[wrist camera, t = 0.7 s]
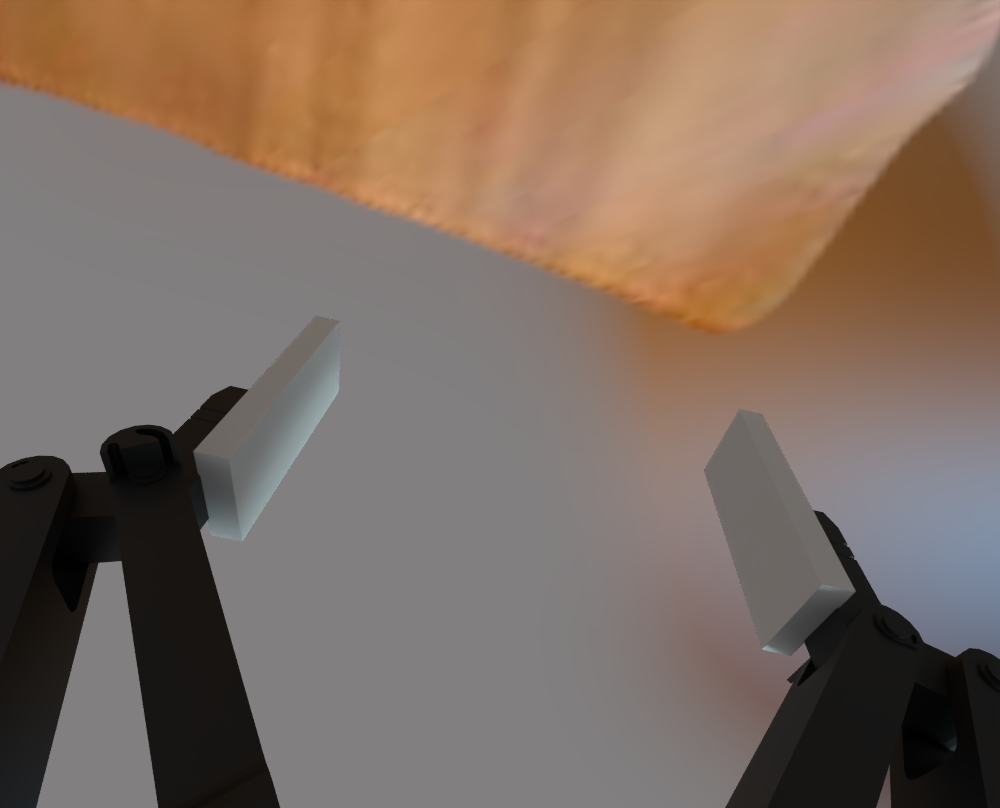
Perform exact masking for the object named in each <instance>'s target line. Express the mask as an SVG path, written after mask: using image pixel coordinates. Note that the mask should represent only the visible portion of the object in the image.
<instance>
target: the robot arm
mask: <svg viewBox="0 0 1000 808" xmlns="http://www.w3.org/2000/svg"><path fill="white" fill-rule="evenodd" d="M339 325H340V321H337V320H333V319H328V318H323V317H318V316H315V317H314V318H313V319H312V321H311V322H310V323H309V324H308V325H307V326H306V327H305V328H304V329H303V331H302V332H301V333H300V334H299V335H298V336H297V337H296V338H295V339H294V340H293V342H292V343H291V344H290V345H289V346H288V347H287V348H286V349H285V350H284V352H283V353H282V354H281V355H280V356H279V357H278V358H277V359H276V360H275V361H274V363H273V364H272V365H271V366H270V367H269V368H268V369H267V370H266V371H265V372H264V374H263V375H262V376H261V377H260V378H259V379H258V380H257V381H256V382H255V384H254V385H253V386H252V387H251V388H250V389H249V390H247V389H242V388H237V387H233V386H229V387H227V388H225V389H223V390H221V391H219V392H217V393H215V394H213V395H212V396H211V397H210V398H209V399H208V400H207V401H206V402H205V403H204V404H203V405H202V406H201V408H200V410H199V409H198V410H197V411H196V412H195V413H194V414H193V415H192V416H191V419H188V420H187V421H186V422H185V423H184V424H183V425H182V426H181V427H180V428H179V429H178V430H177V431H176V432H175V433H174V434H172V432H171V431H170V430H168V429H165V428H163V427H161V426H155V425H141V426H133V427H130V428H127V429H123V430H120V431H118V432H117V433H115V434H113V435H111V436H110V437H108V438H107V440H106V441H105V442H104V443H103V444H102V446H101V450H100V455H101V458H102V461H103V464H104V467H105V469H106V472H92V473H72V472H71V470H70V467H69V465H68V464H67V463H66V462H65V461H64V460H63V459H60V458H57V457H54V456H34V457H29V458H24V459H20V460H18V461H15V462H12V463H10V464H7V465H6V466H4V467H3V468H1V469H0V808H36V806H37V802H38V798H39V794H40V790H41V786H42V782H43V778H44V774H45V770H46V766H47V763H48V759H49V754H50V751H51V747H52V743H53V739H54V735H55V731H56V727H57V723H58V719H59V715H60V711H61V707H62V704H63V700H64V696H65V692H66V688H67V684H68V680H69V676H70V672H71V668H72V664H73V660H74V656H75V653H76V648H77V645H78V641H79V637H80V633H81V629H82V625H83V621H84V617H85V613H86V609H87V605H88V602H89V597H90V594H91V590H92V586H93V582H94V578H95V574H96V570H97V566H98V563H100V562H113V561H122V567H123V574H124V580H125V587H126V593H127V600H128V607H129V614H130V621H131V627H132V634H133V641H134V647H135V654H136V661H137V667H138V674H139V681H140V688H141V694H142V701H143V708H144V714H145V721H146V728H147V735H148V741H149V748H150V755H151V761H152V768H153V774H154V781H155V788H156V795H157V801H158V808H280V806H279V802H278V799H277V795H276V792H275V788H274V785H273V781H272V778H271V775H270V772H269V769H268V767H267V764H266V761H265V758H264V754H263V751H262V748H261V744H260V740H259V737H258V734H257V730H256V727H255V723H254V719H253V716H252V712H251V709H250V705H249V702H248V698H247V695H246V691H245V688H244V684H243V681H242V677H241V673H240V670H239V666H238V663H237V659H236V656H235V652H234V649H233V645H232V642H231V638H230V635H229V631H228V628H227V624H226V621H225V617H224V613H223V610H222V607H221V603H220V599H219V596H218V592H217V589H216V585H215V582H214V578H213V575H212V571H211V567H210V564H209V561H208V557H207V553H206V550H205V547H204V543H203V539H202V536H201V532H200V529H201V528H202V526H203V525H204V524H205V523H206V521H207V520H208V523H209V529H210V534H211V535H212V536H217V537H222V538H227V539H231V540H236V541H241V542H242V541H243V539H244V538H245V536H246V535H247V533H248V532H249V530H250V529H251V527H252V526H253V524H254V522H255V521H256V519H257V518H258V516H259V514H260V513H261V512H262V510H263V508H264V507H265V505H266V504H267V502H268V501H269V499H270V498H271V496H272V494H273V493H274V491H275V490H276V488H277V487H278V485H279V483H280V482H281V480H282V479H283V477H284V476H285V474H286V473H287V471H288V469H289V468H290V467H291V465H292V463H293V462H294V460H295V459H296V457H297V456H298V454H299V453H300V451H301V449H302V448H303V446H304V445H305V443H306V442H307V440H308V439H309V437H310V435H311V434H312V432H313V431H314V429H315V428H316V426H317V425H318V423H319V421H320V420H321V418H322V416H323V415H324V414H325V412H326V410H327V409H328V407H329V406H330V404H331V403H332V401H333V400H334V398H335V397H336V395H337V393H338V392H339V329H340V328H339ZM704 472H705V475H706V478H707V481H708V484H709V487H710V490H711V494H712V497H713V500H714V503H715V506H716V509H717V512H718V515H719V519H720V522H721V525H722V528H723V531H724V534H725V537H726V540H727V543H728V546H729V549H730V552H731V556H732V559H733V561H734V565H735V568H736V571H737V574H738V577H739V580H740V584H741V587H742V590H743V593H744V596H745V599H746V602H747V605H748V608H749V611H750V614H751V617H752V620H753V623H754V627H755V630H756V633H757V636H758V639H759V642H760V645H761V649H762V650H767V651H771V652H777V653H782V654H786V655H792V654H793V653H794V652H795V651H796V650H797V649H798V648H799V647H800V646H801V645H802V644H803V643H804V642H805V645H806V647H807V650H808V652H809V654H810V658H809V659H808V660H807V661H806V662H805V663H804V664H803V665H802V666H801V667H800V668H799V669H798V670H797V671H796V672H795V673H794V674H793V675H792V676H790V677H789V678H788V679H787V680H788V681H789V682H790V683H792V682H793V684H792V686H791V688H790V689H789V691H788V693H787V695H786V697H785V699H784V701H783V702H782V704H781V706H780V708H779V710H778V711H777V713H776V715H775V717H774V719H773V721H772V723H771V724H770V726H769V728H768V730H767V732H766V734H765V735H764V737H763V739H762V741H761V743H760V745H759V747H758V748H757V751H756V752H755V754H754V756H753V758H752V760H751V762H750V763H749V765H748V767H747V769H746V770H745V773H744V774H743V776H742V778H741V780H740V782H739V783H738V785H737V787H736V789H735V791H734V793H733V794H732V796H731V798H730V800H729V802H728V804H727V805H726V807H725V808H876V806H877V803H878V800H879V797H880V793H881V790H882V787H883V784H884V780H885V777H886V774H887V771H888V767H889V764H890V785H891V786H890V787H891V808H1000V659H998V658H997V657H995V656H994V655H992V654H990V653H988V652H985V651H983V650H980V649H973V648H969V649H967V650H966V651H964V652H962V653H961V654H960V655H958V656H957V657H953V656H951V655H949V654H947V653H945V652H943V651H941V650H939V649H937V648H934V647H932V646H930V645H928V644H926V643H924V642H923V640H922V638H921V636H920V634H919V632H918V631H917V630H916V629H915V628H914V627H913V625H912V624H911V623H910V622H909V621H908V620H907V619H905V618H904V617H903V616H902V615H900V614H899V613H898V612H896V611H894V610H892V609H891V608H889V607H887V606H884V605H881V603H880V601H879V600H878V598H877V596H876V594H875V593H874V591H873V589H872V587H871V585H870V584H869V582H868V580H867V578H866V576H865V575H864V573H863V571H862V569H861V568H860V566H859V564H858V562H857V561H856V560H854V555H853V553H852V552H851V550H850V548H849V547H847V543H846V541H845V539H844V537H843V535H842V534H841V532H840V530H839V528H838V527H837V526H836V525H835V524H834V523H833V522H832V521H831V520H830V519H829V518H828V517H827V516H826V515H825V514H824V513H823V512H819V511H814V510H813V509H812V508H811V506H810V504H809V502H808V500H807V498H806V496H805V494H804V492H803V490H802V488H801V487H800V485H799V483H798V481H797V479H796V477H795V475H794V473H793V471H792V470H791V468H790V466H789V464H788V462H787V460H786V458H785V456H784V454H783V453H782V451H781V449H780V447H779V445H778V443H777V441H776V439H775V437H774V435H773V434H772V432H771V430H770V428H769V426H768V424H767V422H766V420H765V418H764V416H763V415H762V414H760V413H755V412H751V411H746V410H742V409H739V410H738V412H737V414H736V416H735V418H734V419H733V421H732V423H731V424H730V426H729V428H728V429H727V431H726V433H725V435H724V436H723V438H722V440H721V442H720V443H719V445H718V447H717V449H716V450H715V452H714V454H713V455H712V457H711V459H710V461H709V462H708V464H707V466H706V467H705V469H704Z"/></svg>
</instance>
